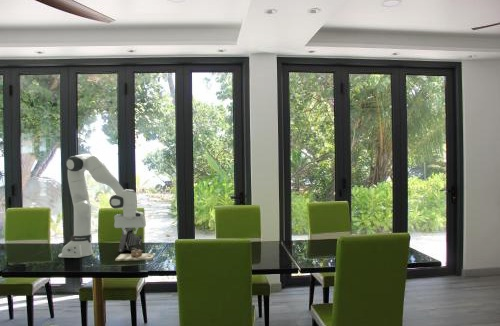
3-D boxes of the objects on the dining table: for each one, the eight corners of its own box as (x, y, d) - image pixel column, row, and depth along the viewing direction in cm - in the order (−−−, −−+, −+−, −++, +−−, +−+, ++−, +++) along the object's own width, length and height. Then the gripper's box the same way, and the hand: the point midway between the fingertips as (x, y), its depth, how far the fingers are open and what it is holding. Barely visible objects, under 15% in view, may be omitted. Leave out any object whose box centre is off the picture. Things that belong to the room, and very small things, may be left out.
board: (115, 260, 252) (115, 258, 252) (120, 255, 265) (120, 253, 265) (152, 259, 254) (152, 257, 254) (155, 254, 268) (155, 252, 268)
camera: (136, 258, 272) (143, 231, 272) (116, 251, 276) (122, 225, 275) (144, 254, 283) (150, 229, 282) (124, 248, 286) (130, 222, 286)
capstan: (130, 254, 262) (130, 249, 262) (141, 253, 265) (141, 248, 265) (131, 259, 250) (131, 253, 250) (142, 258, 252) (142, 252, 252)
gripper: (112, 214, 250) (112, 235, 250) (144, 214, 252) (144, 234, 252) (115, 213, 256) (115, 233, 256) (146, 212, 258) (146, 233, 258)
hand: (130, 234), depth 254 cm, fingers open, 5 cm apart
